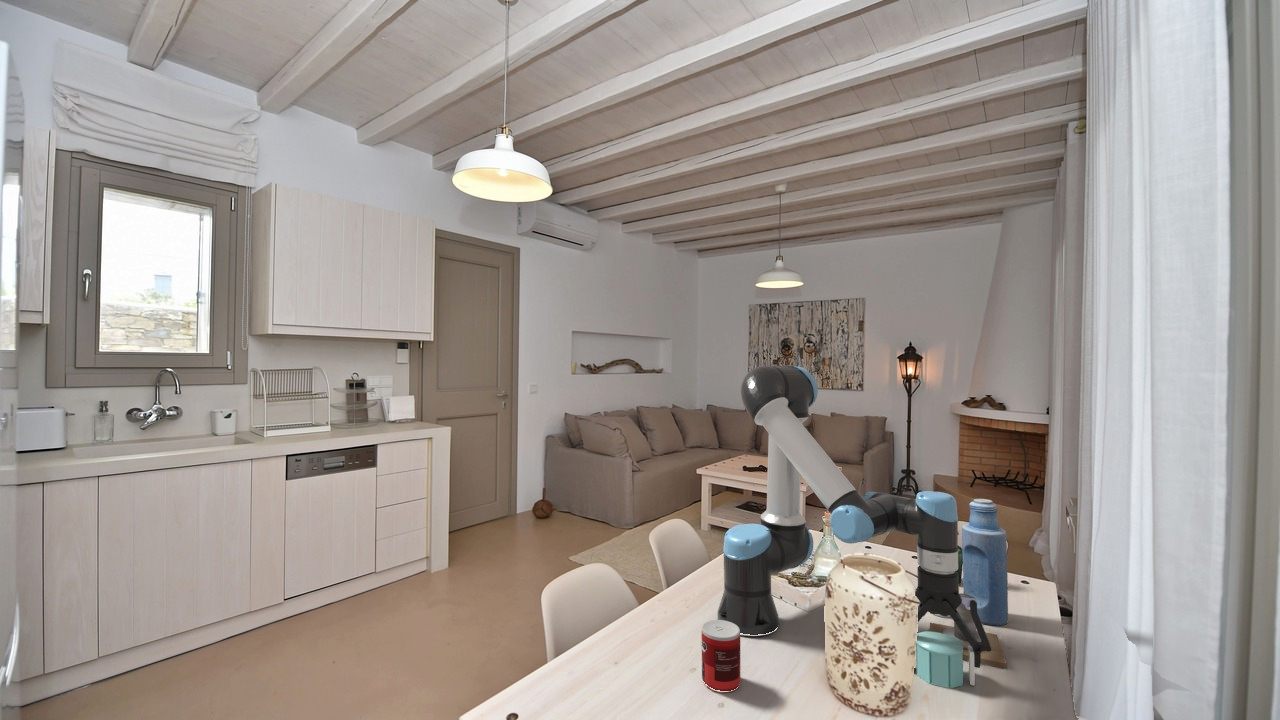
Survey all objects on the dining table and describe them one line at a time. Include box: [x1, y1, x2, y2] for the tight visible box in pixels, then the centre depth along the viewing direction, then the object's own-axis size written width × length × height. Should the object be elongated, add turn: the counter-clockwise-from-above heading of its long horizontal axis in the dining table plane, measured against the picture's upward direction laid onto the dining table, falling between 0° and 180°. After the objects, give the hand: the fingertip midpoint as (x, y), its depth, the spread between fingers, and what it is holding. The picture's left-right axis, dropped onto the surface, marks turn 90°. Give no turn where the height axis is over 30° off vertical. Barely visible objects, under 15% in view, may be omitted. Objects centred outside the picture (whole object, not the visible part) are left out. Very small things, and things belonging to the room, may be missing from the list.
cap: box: [915, 631, 964, 689], centre depth 113 cm, size 9×9×7 cm
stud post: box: [929, 592, 1008, 670], centre depth 125 cm, size 14×14×12 cm
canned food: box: [701, 619, 741, 691], centre depth 111 cm, size 8×8×11 cm
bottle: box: [961, 498, 1009, 627], centre depth 139 cm, size 10×10×30 cm
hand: (939, 674), depth 113 cm, fingers open, 11 cm apart
